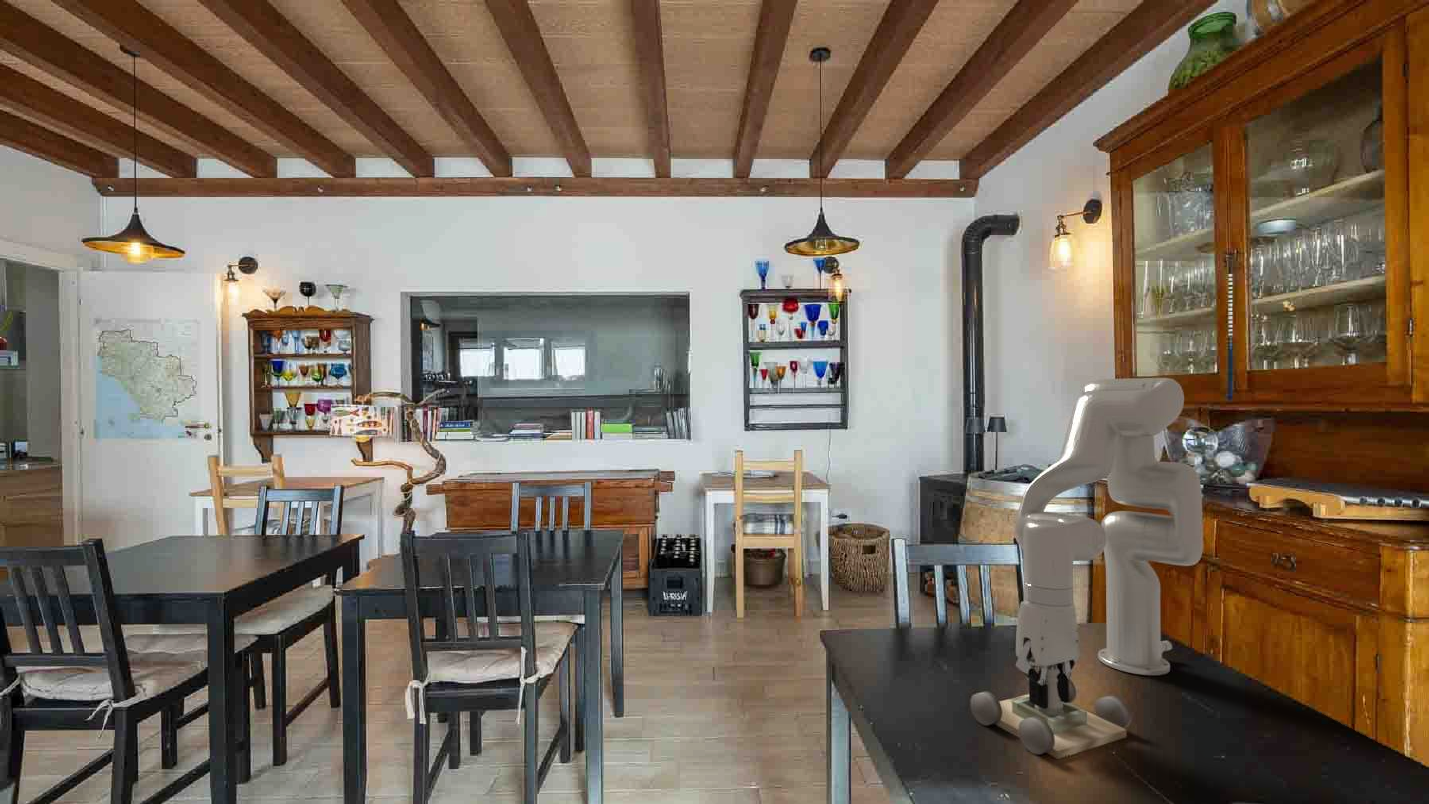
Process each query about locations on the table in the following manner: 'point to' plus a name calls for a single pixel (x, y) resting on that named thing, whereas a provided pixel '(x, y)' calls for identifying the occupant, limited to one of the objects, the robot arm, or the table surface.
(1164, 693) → the table surface
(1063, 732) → the car chassis
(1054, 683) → the rook chess piece
